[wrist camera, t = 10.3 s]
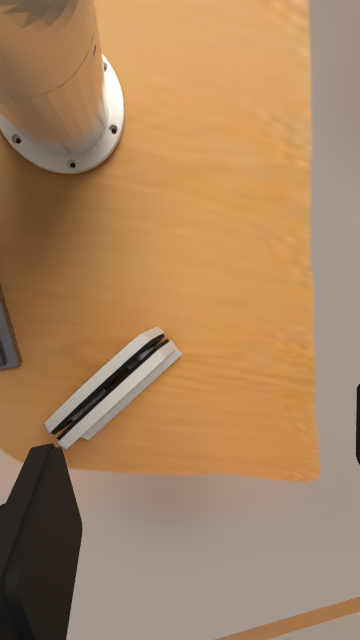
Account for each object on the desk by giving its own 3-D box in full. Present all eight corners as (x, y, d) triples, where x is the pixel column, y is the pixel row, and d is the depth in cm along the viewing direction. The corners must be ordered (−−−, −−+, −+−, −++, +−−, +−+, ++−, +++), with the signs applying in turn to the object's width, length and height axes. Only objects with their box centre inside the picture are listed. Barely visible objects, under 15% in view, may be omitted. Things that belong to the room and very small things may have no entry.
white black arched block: (91, 437, 42) (56, 473, 32) (67, 410, 43) (25, 437, 33) (184, 352, 41) (178, 362, 32) (159, 324, 42) (145, 326, 32)
